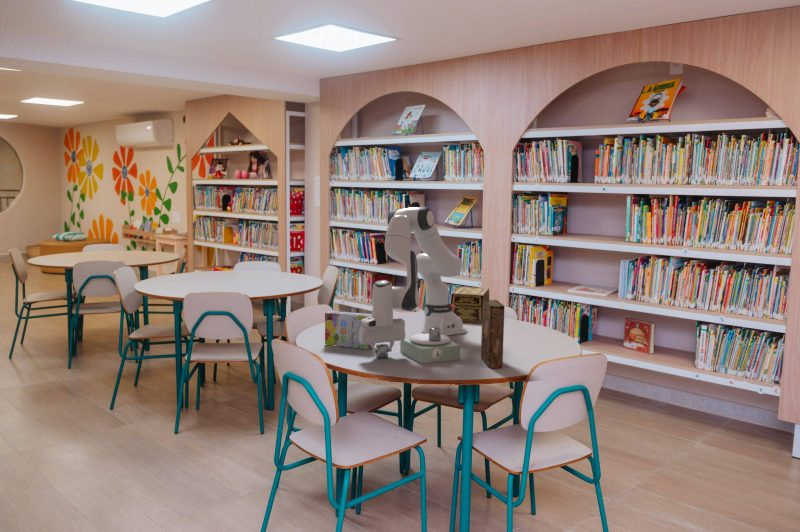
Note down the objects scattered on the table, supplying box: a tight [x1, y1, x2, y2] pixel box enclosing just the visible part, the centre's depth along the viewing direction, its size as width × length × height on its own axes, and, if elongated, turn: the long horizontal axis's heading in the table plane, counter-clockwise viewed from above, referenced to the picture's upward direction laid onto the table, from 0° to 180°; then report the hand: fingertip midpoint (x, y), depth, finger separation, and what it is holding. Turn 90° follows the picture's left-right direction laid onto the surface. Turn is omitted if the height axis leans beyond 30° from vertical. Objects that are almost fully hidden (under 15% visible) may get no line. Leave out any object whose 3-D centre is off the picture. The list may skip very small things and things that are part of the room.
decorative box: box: [449, 286, 490, 324], centre depth 352 cm, size 28×19×15 cm
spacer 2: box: [429, 327, 441, 342], centre depth 266 cm, size 5×5×5 cm
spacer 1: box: [375, 343, 389, 359], centre depth 267 cm, size 5×5×5 cm
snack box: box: [324, 310, 372, 350], centre depth 284 cm, size 21×6×15 cm, turn 71°
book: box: [480, 299, 505, 370], centre depth 259 cm, size 16×6×25 cm, turn 5°
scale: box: [399, 333, 461, 364], centre depth 270 cm, size 18×21×8 cm
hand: (382, 352), depth 267 cm, fingers closed on spacer 1, 5 cm apart
